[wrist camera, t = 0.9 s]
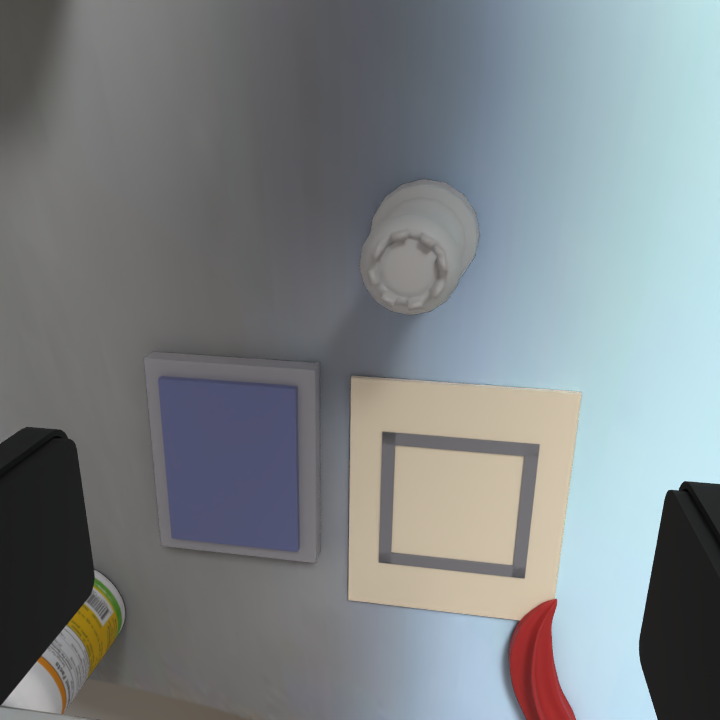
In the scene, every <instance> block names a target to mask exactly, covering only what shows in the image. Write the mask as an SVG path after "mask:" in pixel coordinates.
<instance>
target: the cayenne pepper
mask: <svg viewBox="0 0 720 720" xmlns="http://www.w3.org/2000/svg"><path fill="white" fill-rule="evenodd" d="M556 606H557V599H552V600H549V601H546V602H543V603H542V604H540V605H538V606H537V607H535V608H534V609H532V610H531V611H530V612H528V613H527V614H526V615H525V616H524V617H523V618H522V619H521V620H520V622H519V623H518V625H517V626H516V628H515V630H514V633H513V635H512V638H511V641H510V646H509V662H510V674H511V680H512V685H513V689H514V692H515V695H516V697H517V700H518V702H519V704H520V707H521V709H522V711H523V713H524V715H525V717H526V719H527V720H576V718H575V715H574V713H573V710H572V708H571V706H570V705H569V703H568V701H567V699H566V697H565V695H564V694H563V692H562V689H561V687H560V684H559V681H558V677H557V673H556V669H555V664H554V659H553V650H552V635H551V625H552V619H553V616H554V613H555V609H556Z"/></svg>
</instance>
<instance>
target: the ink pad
mask: <svg viewBox="0 0 720 720" xmlns="http://www.w3.org/2000/svg"><path fill="white" fill-rule="evenodd" d="M144 367H145V378H146V389H147V399H148V410H149V421H150V432H151V443H152V454H153V464H154V475H155V486H156V497H157V508H158V519H159V529H160V540H161V546H166V547H175V548H184V549H193V550H202V551H211V552H220V553H229V554H238V555H247V556H256V557H265V558H274V559H283V560H292V561H301V562H310V563H316V562H317V559H318V556H319V554H320V363H313V362H298V361H283V360H269V359H254V358H239V357H224V356H210V355H195V354H180V353H166V352H152V353H151V354H149V355H148V356H146V357H145V358H144Z"/></svg>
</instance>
